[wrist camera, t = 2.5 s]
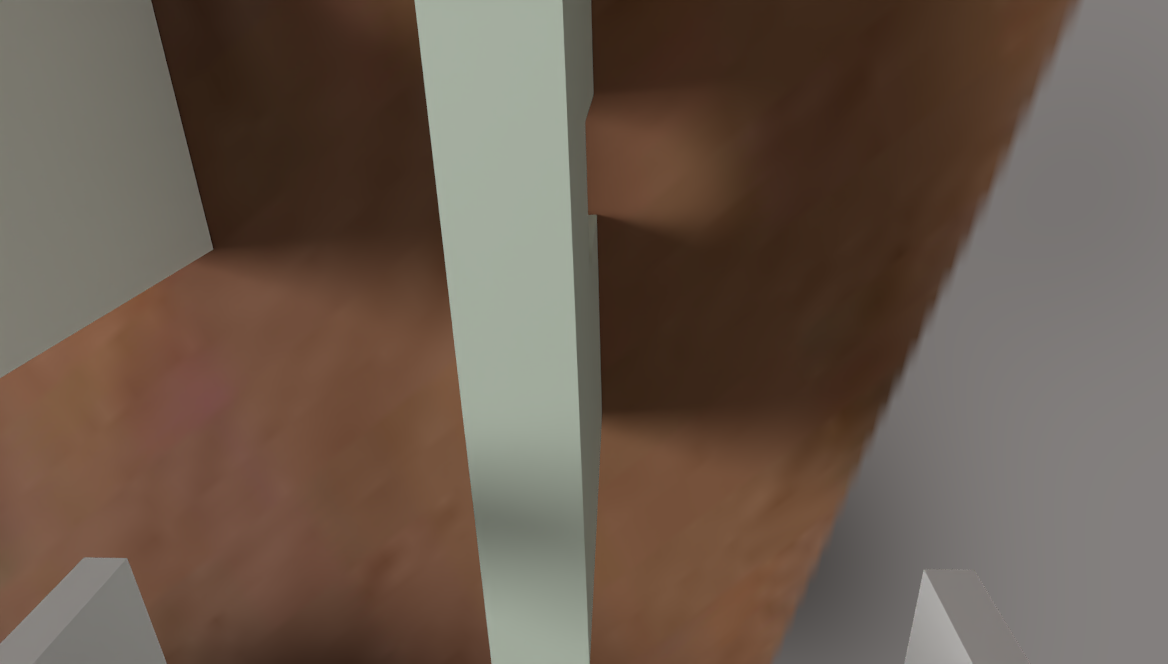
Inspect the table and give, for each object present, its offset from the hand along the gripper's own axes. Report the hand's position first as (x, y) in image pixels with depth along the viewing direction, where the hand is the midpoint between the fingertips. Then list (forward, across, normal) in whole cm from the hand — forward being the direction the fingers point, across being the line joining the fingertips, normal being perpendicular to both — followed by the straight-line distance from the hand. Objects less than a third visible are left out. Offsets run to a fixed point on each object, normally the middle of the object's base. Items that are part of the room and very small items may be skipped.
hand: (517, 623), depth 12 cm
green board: (+16, 0, -5) cm, 16 cm away
